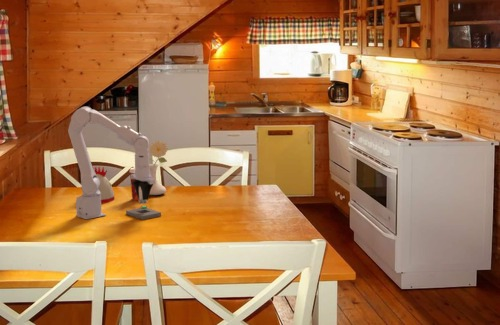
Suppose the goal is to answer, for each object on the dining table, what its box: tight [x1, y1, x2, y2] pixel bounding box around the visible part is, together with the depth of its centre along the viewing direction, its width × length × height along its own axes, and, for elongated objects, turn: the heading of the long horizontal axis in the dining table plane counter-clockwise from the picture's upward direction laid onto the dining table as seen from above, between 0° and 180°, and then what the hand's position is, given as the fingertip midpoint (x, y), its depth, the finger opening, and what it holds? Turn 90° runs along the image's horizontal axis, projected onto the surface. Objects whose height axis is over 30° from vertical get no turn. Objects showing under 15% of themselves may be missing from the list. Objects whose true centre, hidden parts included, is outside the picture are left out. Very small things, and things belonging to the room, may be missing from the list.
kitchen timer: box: [94, 166, 115, 204], centre depth 308 cm, size 14×14×15 cm
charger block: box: [125, 205, 162, 221], centre depth 283 cm, size 9×12×2 cm
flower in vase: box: [148, 140, 168, 196], centre depth 318 cm, size 13×11×25 cm
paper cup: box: [128, 166, 139, 202], centre depth 309 cm, size 8×8×14 cm
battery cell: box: [138, 185, 148, 205], centre depth 281 cm, size 3×3×8 cm
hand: (143, 198), depth 282 cm, fingers closed on battery cell, 3 cm apart
